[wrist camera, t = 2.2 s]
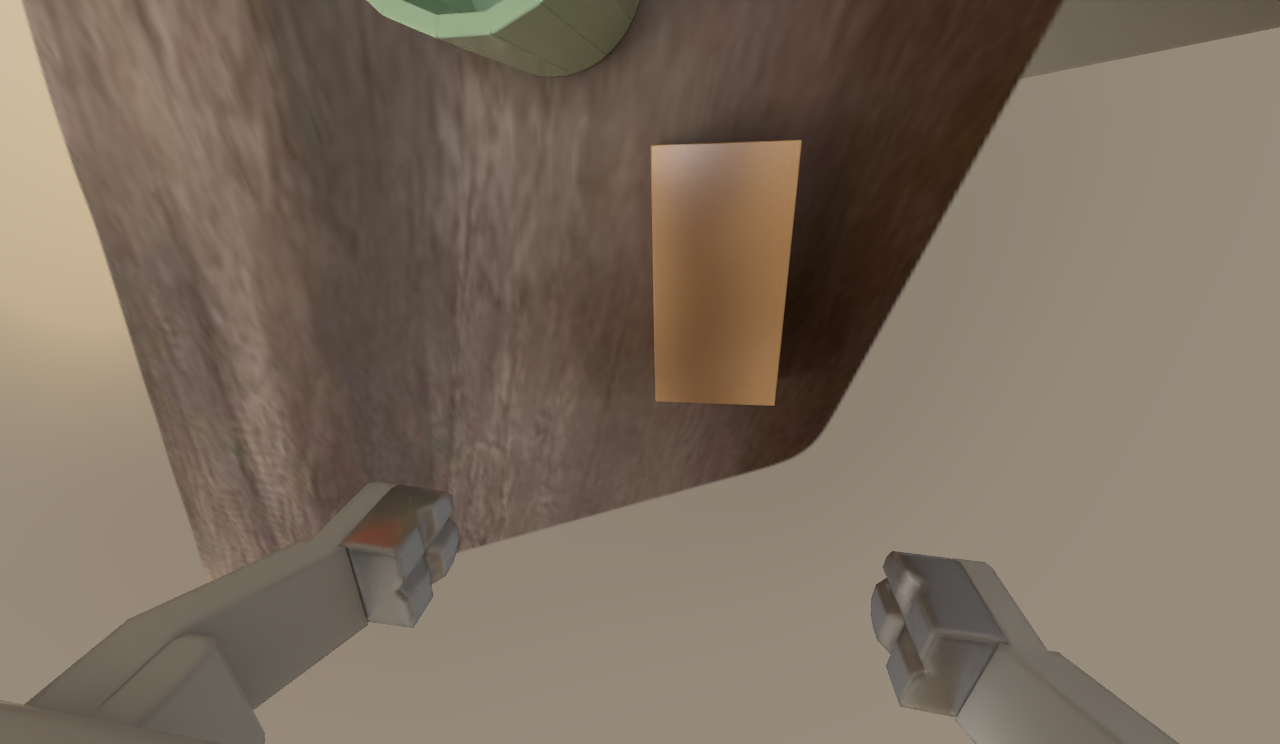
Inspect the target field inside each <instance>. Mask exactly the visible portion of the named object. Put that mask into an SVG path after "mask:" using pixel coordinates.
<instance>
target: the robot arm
mask: <svg viewBox="0 0 1280 744" xmlns="http://www.w3.org/2000/svg"><path fill="white" fill-rule="evenodd" d="M454 509H455V508H454V503H453V498H452V495H451V494H449V493H447V492H443V491H437V490H431V489H424V488H418V487H412V486H405V485H395V484H389V483H383V482H377V481H375V482H372V483H369V484H367V485H366V486H365V487H364V488H363V489H362V490H361V491H360V492H359V493H358V494H357V495H356V496H355V497H354V498H353V499H352V500H351V501H350V502H349V503H348V504H347V505H346V506H345V507H344V508H343V509H341V510H340V511H339V512H338V513H337V514H336V515H335V516H334V517H333V518H332V519H331V520H330V521H329V522H328V523H327V524H326V525H325V526H324V527H323V528H322V529H321V530H320V531H319V532H318V533H317V534H316V535H315V536H314V537H313V538H312V539H311V540H310V541H309V542H307V541H299V542H297V543H295V544H293V545H290V546H288V547H286V548H284V549H282V550H279V551H277V552H275V553H273V554H271V555H268V556H266V557H264V558H262V559H260V560H257V561H255V562H253V563H251V564H249V565H246V566H244V567H242V568H240V569H238V570H235V571H233V572H231V573H229V574H227V575H224V576H222V577H220V578H218V579H216V580H213V581H211V582H209V583H207V584H205V585H203V586H200V587H198V588H196V589H194V590H192V591H189V592H187V593H185V594H183V595H181V596H178V597H176V598H174V599H172V600H170V601H167V602H165V603H163V604H161V605H159V606H156V607H154V608H152V609H150V610H148V611H145V612H143V613H141V614H139V615H137V616H134V617H132V618H130V619H128V620H127V621H126V622H124V623H123V624H122V625H121V626H119V627H118V628H117V629H116V630H115V631H113V632H112V633H111V634H110V635H108V636H107V637H106V638H105V639H104V640H102V641H101V642H100V643H99V644H97V645H96V646H95V647H94V648H93V649H91V650H90V651H89V652H88V653H87V654H85V655H84V656H83V657H82V658H80V659H79V660H78V661H77V662H76V663H74V664H73V665H72V666H71V667H69V668H68V669H67V670H66V671H65V672H63V673H62V674H61V675H60V676H58V677H57V678H56V679H55V680H54V681H52V682H51V683H50V684H49V685H48V686H46V687H45V688H44V689H43V690H41V691H40V692H39V693H38V694H36V695H35V696H34V697H33V698H32V699H30V700H29V701H28V702H27V703H26V704H24V705H22V704H17V703H12V702H7V701H2V700H0V744H264V743H265V738H264V731H263V729H262V727H261V725H260V723H259V721H258V719H257V717H256V715H255V713H254V712H253V710H254V709H255V708H257V707H258V706H259V705H261V704H262V703H263V702H265V701H266V700H267V699H269V698H270V697H272V696H273V695H274V694H276V693H277V692H278V691H280V690H281V689H282V688H283V687H285V686H286V685H288V684H289V683H290V682H292V681H293V680H294V679H296V678H297V677H298V676H300V675H301V674H302V673H304V672H305V671H306V670H308V669H309V668H310V667H312V666H313V665H315V664H316V663H317V662H318V661H320V660H321V659H323V658H324V657H325V656H327V655H328V654H329V653H331V652H332V651H333V650H335V649H336V648H337V647H339V646H340V645H341V644H343V643H344V642H345V641H347V640H348V639H349V638H351V637H352V636H354V635H355V634H356V633H358V632H359V631H360V630H362V629H363V628H364V627H366V626H367V625H368V622H372V623H381V624H388V625H396V626H403V627H411V628H414V626H415V625H416V623H417V622H418V620H419V618H420V617H421V615H422V613H423V612H424V610H425V608H426V607H427V605H428V604H429V602H430V600H431V599H432V597H433V592H432V584H433V583H435V582H436V581H438V580H440V579H441V578H443V577H444V576H446V574H447V572H448V571H449V569H450V567H451V565H452V564H453V561H454V558H455V555H456V552H457V549H458V538H459V534H458V527H457V525H456V524H455V523H454V522H453V521H452V520H451V518H450V517H449V516H450V515H451V513H452V512H453V510H454ZM883 568H884V571H885V573H886V576H887V578H886V579H884V580H883V581H881V582H879V583H878V584H876V586H875V589H874V592H873V595H872V600H871V616H872V623H873V628H874V631H875V634H876V637H877V640H878V642H879V643H880V644H881V645H882V646H883V647H884V648H885V649H886V650H887V651H888V652H889V653H890V654H891V656H890V658H889V660H888V663H887V665H886V667H887V670H888V673H889V676H890V679H891V682H892V685H893V688H894V691H895V694H896V696H897V699H898V702H899V705H900V707H904V708H910V709H914V710H920V711H925V712H931V713H935V714H941V715H946V716H952V717H956V722H957V723H958V724H959V725H960V726H961V728H962V729H963V730H964V731H965V732H966V733H967V735H968V736H969V737H970V738H971V739H972V741H973V742H974V743H975V744H1179V743H1177V742H1176V741H1175V740H1174V739H1172V738H1171V737H1170V736H1168V735H1167V734H1166V733H1164V732H1163V731H1162V730H1160V729H1159V728H1158V727H1156V726H1155V725H1154V724H1152V723H1151V722H1150V721H1148V720H1147V719H1146V718H1144V717H1143V716H1142V715H1140V714H1139V713H1138V712H1136V711H1135V710H1134V709H1132V708H1131V707H1130V706H1129V705H1127V704H1126V703H1125V702H1123V701H1122V700H1121V699H1119V698H1118V697H1117V696H1115V695H1114V694H1113V693H1111V692H1110V691H1109V690H1107V689H1106V688H1105V687H1103V686H1102V685H1101V684H1099V683H1098V682H1097V681H1095V680H1094V679H1093V678H1092V677H1090V676H1088V675H1087V674H1086V673H1085V672H1084V671H1082V670H1081V669H1080V668H1078V667H1077V666H1076V665H1074V664H1073V663H1071V662H1070V661H1069V660H1068V659H1066V658H1065V657H1064V656H1062V655H1061V654H1060V653H1058V652H1053V651H1048V650H1047V649H1046V647H1045V646H1044V644H1043V643H1042V641H1041V640H1040V638H1039V637H1038V635H1037V634H1036V633H1035V631H1034V629H1033V628H1032V627H1031V625H1030V624H1029V622H1028V620H1027V619H1026V618H1025V616H1024V615H1023V613H1022V612H1021V610H1020V609H1019V607H1018V606H1017V604H1016V603H1015V601H1014V600H1013V598H1012V597H1011V595H1010V594H1009V593H1008V591H1007V589H1006V588H1005V586H1004V585H1003V583H1002V582H1001V580H1000V579H999V577H998V576H997V574H996V573H995V571H994V570H993V569H992V567H990V566H989V565H987V564H986V563H985V562H979V561H970V560H962V559H954V558H953V559H950V558H943V557H935V556H927V555H919V554H910V553H903V552H895V551H892V552H891V553H890V554H889V555H888V556H887V558H886V560H885V563H884V565H883Z"/></svg>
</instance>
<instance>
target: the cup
mask: <svg viewBox="0 0 1280 744" xmlns="http://www.w3.org/2000/svg"><path fill="white" fill-rule="evenodd" d="M367 1H368V2H369V3H370V4H371V5H372V6H373V7H374V8H375V9H376V10H377V11H378V12H379V13H380V14H382V15H383V16H385V17H387V18H389V19H392V20H394V21H396V22H399V23H401V24H403V25H406V26H408V27H410V28H413V29H415V30H417V31H420V32H422V33H425V34H427V35H429V36H432V37H434V38H436V39H439V40H442V41H444V42H447V43H450V44H452V45H455V46H458V47H460V48H463V49H466V50H469V51H471V52H474V53H477V54H479V55H482V56H485V57H487V58H490V59H493V60H495V61H498V62H501V63H503V64H506V65H509V66H511V67H514V68H517V69H519V70H522V71H525V72H527V73H530V74H533V75H535V76H536V75H537V76H566V75H571V74H574V73H578V72H581V71H583V70H585V69H587V68H589V67H592V66H593V65H595V64H596V63H597V62H599V61H600V60H602V59H603V58H604V57H605V56H606V55H607V54H609V53H610V52H611V51H612V50H613V49H614V47H615V46H616V45H617V44H618V43H619V41H620V40H621V39H622V37H623V36H624V34H625V33H626V31H627V29H628V28H629V26H630V24H631V22H632V20H633V18H634V15H635V13H636V10H637V7H638V4H639V2H640V0H367Z"/></svg>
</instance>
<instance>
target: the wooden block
mask: <svg viewBox="0 0 1280 744" xmlns="http://www.w3.org/2000/svg"><path fill="white" fill-rule="evenodd" d="M801 145H802V140H771V141H741V142H711V143H681V144H655V145H651V193H652V246H653V298H654V351H655V400H656V401H661V402H688V403H715V404H742V405H769V406H774V405H775V397H776V387H777V378H778V368H779V358H780V349H781V339H782V329H783V320H784V310H785V300H786V291H787V281H788V271H789V261H790V252H791V242H792V232H793V223H794V213H795V203H796V194H797V184H798V174H799V165H800V155H801Z"/></svg>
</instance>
